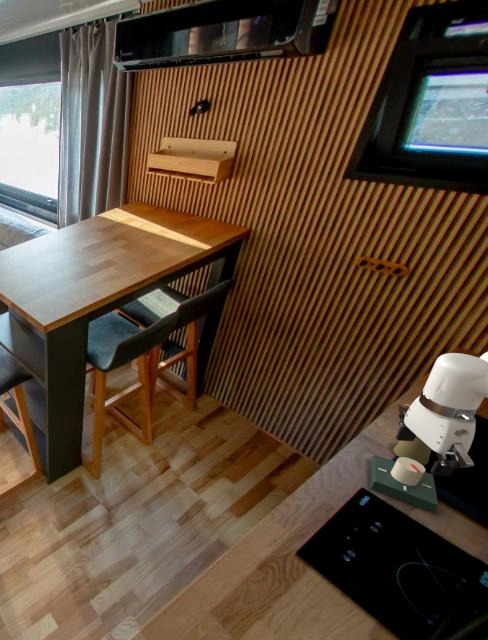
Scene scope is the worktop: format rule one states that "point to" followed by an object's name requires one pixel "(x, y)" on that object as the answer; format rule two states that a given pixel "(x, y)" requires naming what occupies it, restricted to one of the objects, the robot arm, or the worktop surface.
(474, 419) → the robot arm
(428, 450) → the cork
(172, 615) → the worktop surface
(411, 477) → the grip knob
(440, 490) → the worktop surface
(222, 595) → the worktop surface
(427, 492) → the panel
